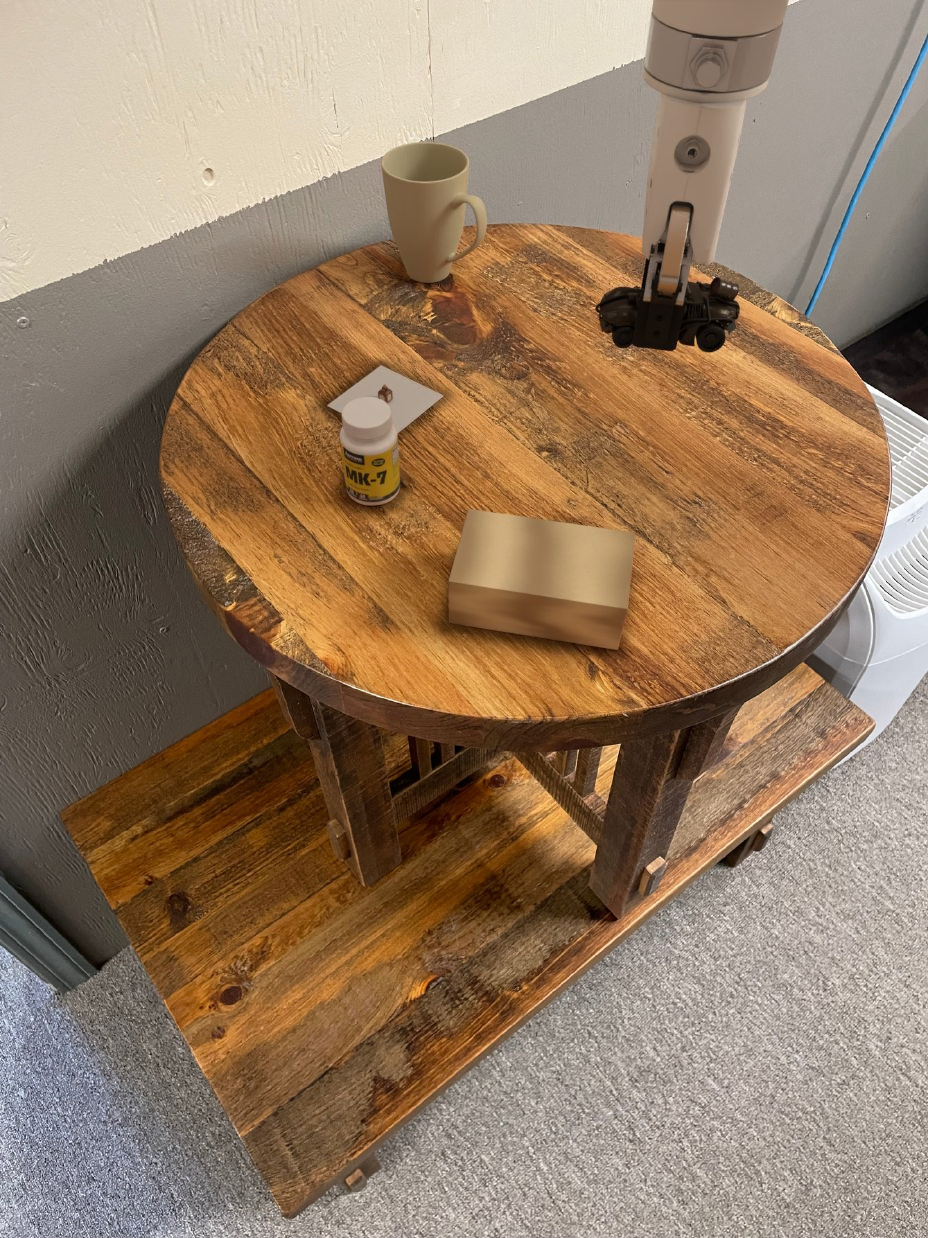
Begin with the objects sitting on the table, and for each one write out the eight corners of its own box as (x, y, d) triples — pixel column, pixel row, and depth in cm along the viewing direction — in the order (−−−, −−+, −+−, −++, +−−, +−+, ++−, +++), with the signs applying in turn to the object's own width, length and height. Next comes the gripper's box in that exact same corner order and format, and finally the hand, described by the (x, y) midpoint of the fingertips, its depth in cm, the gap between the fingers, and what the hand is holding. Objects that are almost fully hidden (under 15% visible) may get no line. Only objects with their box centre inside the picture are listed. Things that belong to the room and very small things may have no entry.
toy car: (742, 353, 64) (757, 299, 61) (580, 354, 64) (586, 300, 61) (725, 306, 68) (739, 253, 64) (573, 307, 68) (579, 254, 64)
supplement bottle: (341, 504, 74) (329, 427, 68) (352, 467, 77) (342, 390, 71) (395, 510, 74) (389, 433, 67) (405, 472, 77) (400, 395, 70)
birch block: (625, 575, 70) (635, 532, 66) (617, 650, 65) (627, 609, 61) (467, 551, 71) (468, 508, 67) (448, 623, 66) (448, 581, 63)
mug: (384, 297, 94) (375, 185, 85) (392, 249, 100) (385, 140, 91) (484, 299, 94) (487, 188, 84) (486, 251, 100) (489, 142, 90)
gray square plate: (326, 405, 83) (324, 389, 81) (381, 365, 87) (379, 349, 85) (391, 439, 80) (389, 422, 78) (444, 395, 84) (443, 379, 82)
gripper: (775, 117, 46) (702, 396, 60) (773, 6, 56) (711, 266, 70) (633, 104, 47) (594, 382, 61) (657, -2, 57) (619, 256, 71)
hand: (657, 317), depth 65 cm, fingers closed on toy car, 6 cm apart
